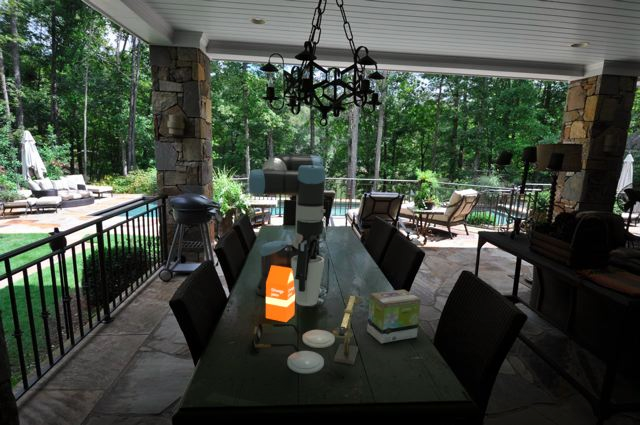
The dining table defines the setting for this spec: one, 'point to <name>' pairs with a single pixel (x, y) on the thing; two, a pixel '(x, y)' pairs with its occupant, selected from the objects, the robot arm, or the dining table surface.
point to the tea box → (393, 315)
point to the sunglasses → (259, 333)
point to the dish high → (318, 338)
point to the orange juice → (280, 294)
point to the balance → (346, 333)
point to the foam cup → (310, 279)
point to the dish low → (305, 362)
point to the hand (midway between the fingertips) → (307, 295)
